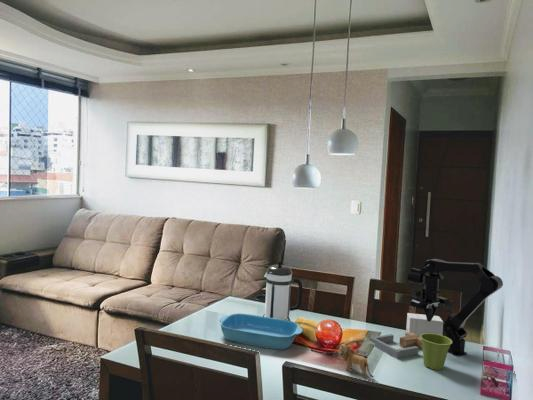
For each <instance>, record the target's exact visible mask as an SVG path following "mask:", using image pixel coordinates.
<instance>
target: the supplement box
mask: <svg viewBox="0 0 533 400" xmlns="http://www.w3.org/2000/svg"><path fill="white" fill-rule="evenodd" d="M406 314H407V316H406V326H405V329H406V331H405V332H406V333H408V332H412V333H414V334H416V335H419V336H420V335H421V334H424V333H433V334H439V335H442V336H443V332H444V328H443V325H444V321H443V320H442V318H441V317H440V316H439V315H434V317H433V318H432V320H431V321H430V322H429V321H427V318H426V314H422V313H421V314H420V313H411V312H407V313H406Z"/></svg>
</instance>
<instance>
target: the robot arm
mask: <svg viewBox="0 0 533 400" xmlns="http://www.w3.org/2000/svg"><path fill="white" fill-rule="evenodd" d="M441 272H458V273H460V272H461V273H472V274H474V275H475V278H477V280H478V281H479V282H480V283H481V284H480V286H479V289H478V291H477V292H476V293H475V294H474V295H473V297H472V298H471V299H470V300H469V301H468V302H467V303H466V304H465V305H464V307H462V309H460V311H459V312H458V313H452V314H450V315H449V316H448V317H447V319H446V320H444V321H443V332H445V334H446V337H447V338H449V339H451V340H452V344H450V348H449V349H448V353H449V354H452V355H454V356H456V357H457V356H463V355H467V352H466V351H465V349H466V348H465V346H466V339H465V338H467V335H468V332H467V331H466V330H465V328H464V326H465V325H466V322H467V320H468V319H469V318H470V316H471V315H472V314H473V313H475V311H476V310H477V309H478V308H479V307H480V306H481V305H482V304H483V303H484V302H485V301H486V299H487V298H488V297H491V295H493V294H495V292H498V291H499V290H500V289H502V287H503V285H504V283H503V279H502V278H501V277H500V276H498V275H495V274H494V273H493V272H492V271H491V270H489V269H488V268H486V267H485V266H484V265H483V264H482V263H480V262H475V263H474V262H460V261H459V262H454V261H446V260H443V259H438V258H432V259H427V260H426V261H425V262H424V265H423V266H422V268H421V269H419V268H414V267H412V268H410V270H409V272H408V273H407V274H408V275H407V281H408V283H410V284H411V283H412V284H415V285H423V284H424V287H422V288H421V291H418V289H412V290H411V293H410V295H411V297H412V298H414V299H411V300H410V306H411V307H413V308H416V309H419V310H422V309H423V311H424V315H426V318H427V321H429V322H430V321H431V320H432V318H433V317H434V316H436V314H437V312H438V311H439V310H440V309H441V306H439V304H443V306H445V307H449V306H450V300H449V298H447V297H444V296H439V294H440V293H441V290H440V289H439V282H440V280H443V279H445V277H444V275H443V274H442V273H441ZM428 273H429V274H428Z"/></svg>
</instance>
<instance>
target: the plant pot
mask: <svg viewBox="0 0 533 400" xmlns="http://www.w3.org/2000/svg"><path fill="white" fill-rule="evenodd" d="M420 337H421V339H422V346H423V350H422V357H423V358H422V359H423V365H424V367H426V368H430V369H431V370H436V371H441V370H442V369H444V367H445V363H446V360H447V355H448V353H449V352H448V349H449V348H450V344H452V340H451V339H449V338H447V336H445V335H443V334H442V335H439V334H433V333H424V334H421V335H420Z"/></svg>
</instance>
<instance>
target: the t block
mask: <svg viewBox="0 0 533 400" xmlns="http://www.w3.org/2000/svg"><path fill="white" fill-rule="evenodd" d="M404 335H405V336H401V337H399V347H400V348H401V349H402V348H408V347H413V346H417V347H418V350H421V351H423V346H422V339H421V337H420V336H419V335H416V334H414V333H412V332H408V333H407V332H405V334H404Z"/></svg>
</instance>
